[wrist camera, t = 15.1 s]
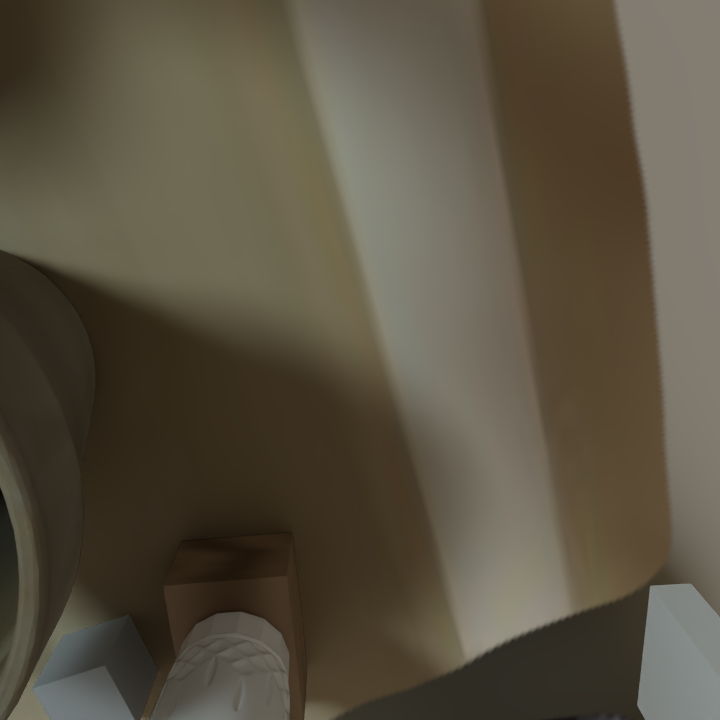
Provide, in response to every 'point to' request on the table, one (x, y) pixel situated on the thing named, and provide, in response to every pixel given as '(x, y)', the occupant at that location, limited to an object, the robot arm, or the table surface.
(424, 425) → the table surface
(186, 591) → the walnut block
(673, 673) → the robot arm
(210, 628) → the white cup
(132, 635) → the grey cube
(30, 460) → the plant pot
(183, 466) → the table surface
